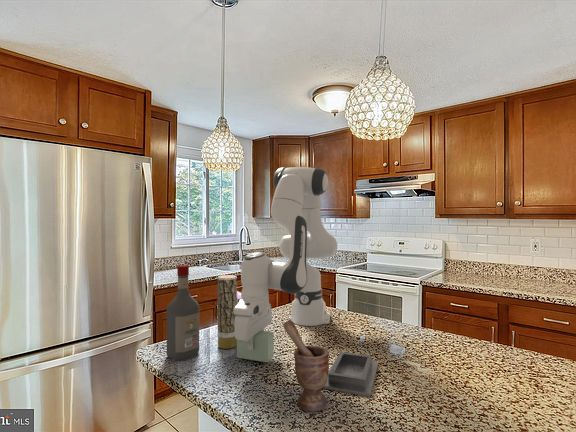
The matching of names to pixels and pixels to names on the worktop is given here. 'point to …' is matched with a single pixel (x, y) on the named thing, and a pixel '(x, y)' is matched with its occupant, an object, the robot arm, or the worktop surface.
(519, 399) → the worktop surface
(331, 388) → the duct collar
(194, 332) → the liquor
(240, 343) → the block
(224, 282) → the paper tube
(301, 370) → the mortar and pestle
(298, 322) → the robot arm
